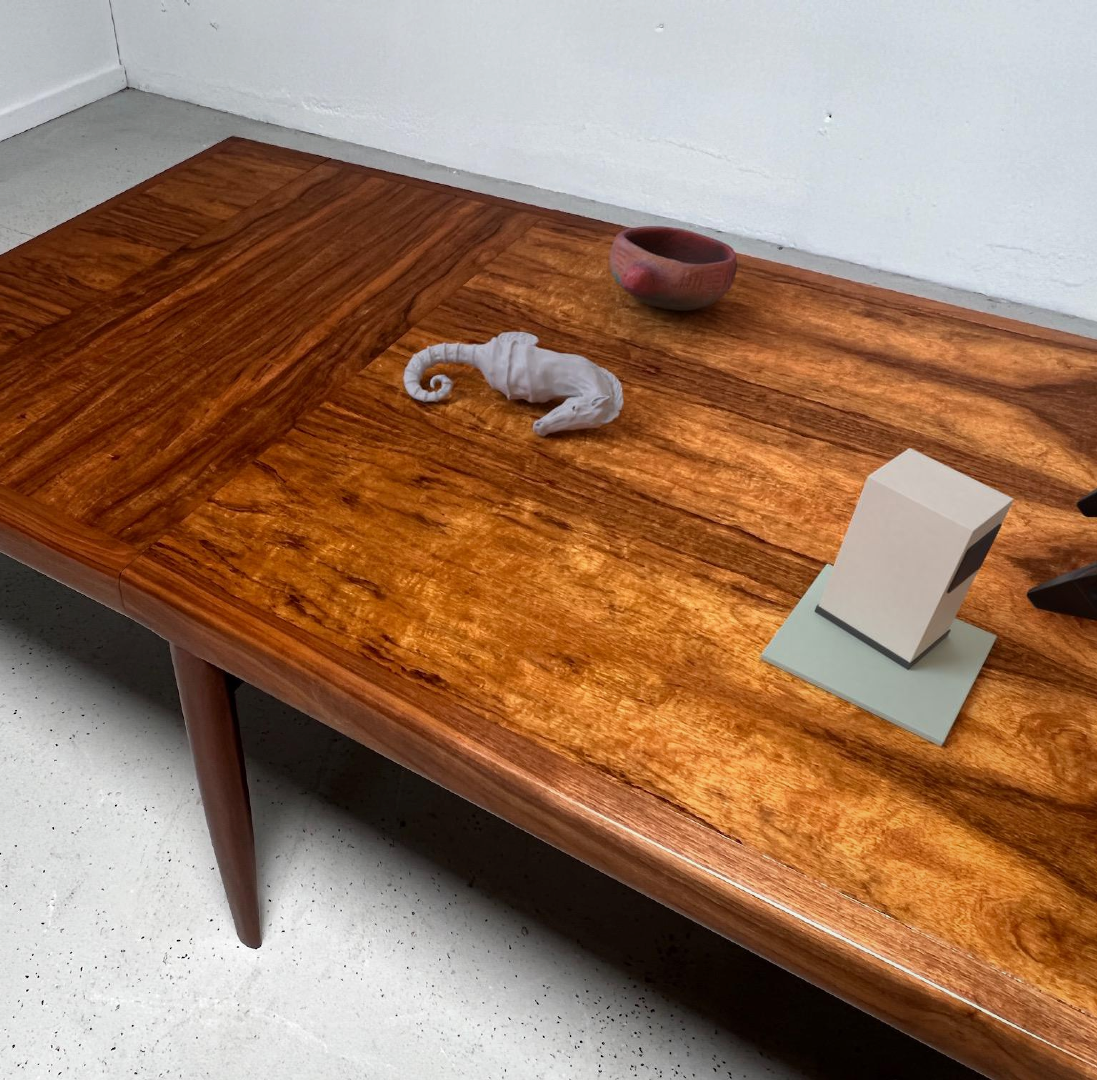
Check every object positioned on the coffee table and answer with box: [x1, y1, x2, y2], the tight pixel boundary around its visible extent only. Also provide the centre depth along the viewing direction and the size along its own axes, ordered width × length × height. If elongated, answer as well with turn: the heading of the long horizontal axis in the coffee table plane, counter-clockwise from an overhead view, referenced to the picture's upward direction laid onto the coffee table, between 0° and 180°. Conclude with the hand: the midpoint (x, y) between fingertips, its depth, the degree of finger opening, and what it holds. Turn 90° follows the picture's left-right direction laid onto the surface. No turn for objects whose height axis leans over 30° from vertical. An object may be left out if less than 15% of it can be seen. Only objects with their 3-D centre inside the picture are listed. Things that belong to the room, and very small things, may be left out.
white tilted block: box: [815, 447, 1015, 670], centre depth 70 cm, size 5×7×12 cm
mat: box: [759, 563, 998, 747], centre depth 73 cm, size 12×12×1 cm
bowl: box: [609, 225, 738, 311], centre depth 107 cm, size 16×13×8 cm
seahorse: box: [402, 331, 625, 437], centre depth 95 cm, size 5×12×20 cm
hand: (1056, 552), depth 60 cm, fingers open, 9 cm apart
